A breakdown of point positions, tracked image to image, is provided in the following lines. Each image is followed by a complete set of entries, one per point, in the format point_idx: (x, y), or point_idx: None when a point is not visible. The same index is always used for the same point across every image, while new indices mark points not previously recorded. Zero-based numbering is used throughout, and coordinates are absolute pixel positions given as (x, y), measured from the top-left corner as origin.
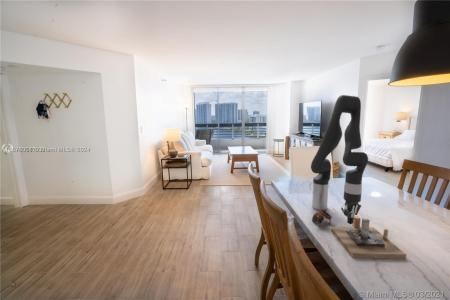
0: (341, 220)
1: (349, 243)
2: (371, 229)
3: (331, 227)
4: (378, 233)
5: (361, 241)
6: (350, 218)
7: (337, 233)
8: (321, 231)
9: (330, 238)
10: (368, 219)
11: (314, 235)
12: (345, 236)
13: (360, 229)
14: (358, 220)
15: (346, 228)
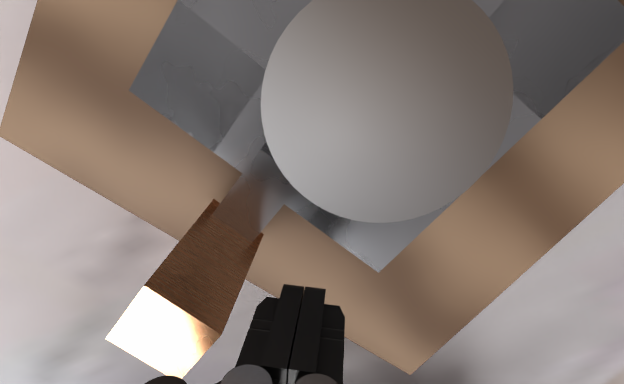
0: (149, 369)
1: (619, 108)
2: (61, 124)
3: (413, 368)
4: (64, 25)
5: (550, 6)
6: (331, 373)
7: (486, 286)
8: (488, 377)
9: (551, 283)
10: (274, 66)
11: (610, 378)
12: (483, 212)
13: (273, 166)
14: (188, 275)
15: (298, 283)
